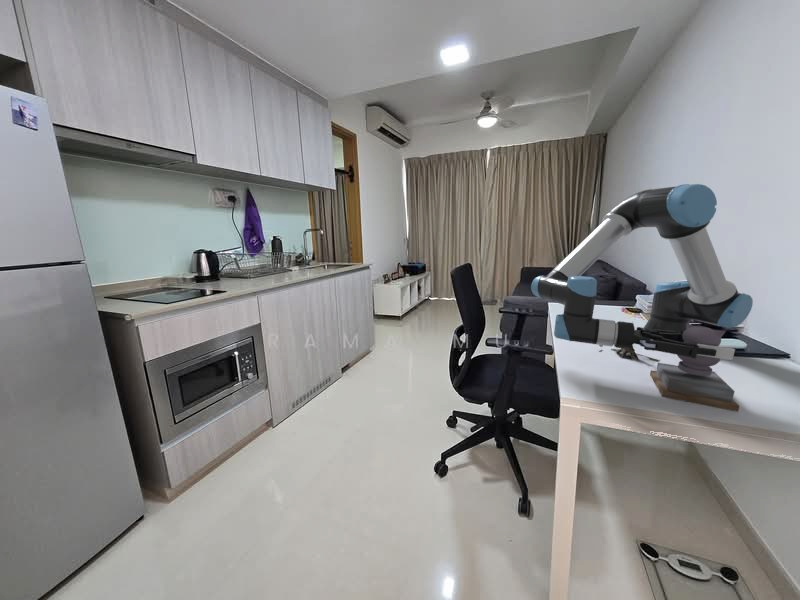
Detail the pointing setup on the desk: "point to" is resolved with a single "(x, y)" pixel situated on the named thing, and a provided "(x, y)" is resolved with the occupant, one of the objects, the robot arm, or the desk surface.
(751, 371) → the desk surface
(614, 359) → the desk surface
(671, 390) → the display plinth
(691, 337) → the cat figurine
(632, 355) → the eiffel tower figurine
